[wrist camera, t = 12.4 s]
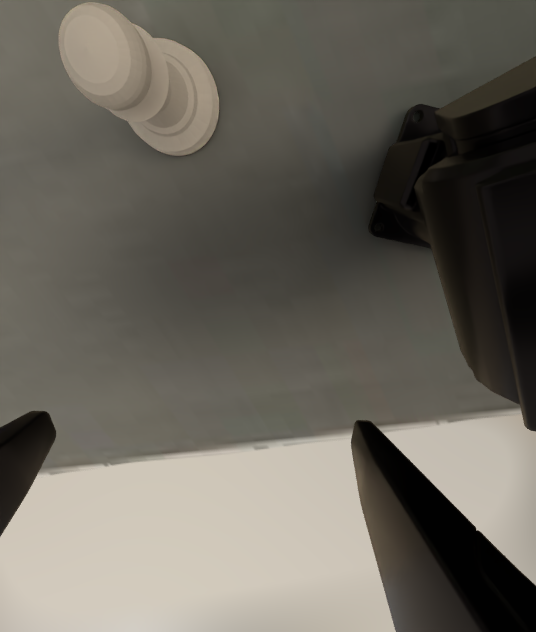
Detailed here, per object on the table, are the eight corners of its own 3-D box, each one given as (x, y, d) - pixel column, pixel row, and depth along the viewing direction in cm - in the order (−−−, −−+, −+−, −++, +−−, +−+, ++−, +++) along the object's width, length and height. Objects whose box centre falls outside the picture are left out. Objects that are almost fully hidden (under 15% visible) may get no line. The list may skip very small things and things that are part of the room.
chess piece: (151, 167, 17) (59, 166, 10) (109, 63, 15) (-46, -37, 8) (232, 140, 16) (199, 118, 9) (200, 28, 14) (124, -116, 7)
